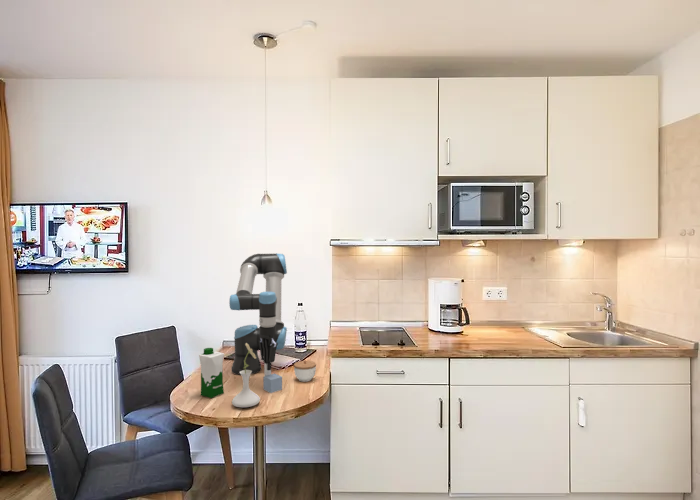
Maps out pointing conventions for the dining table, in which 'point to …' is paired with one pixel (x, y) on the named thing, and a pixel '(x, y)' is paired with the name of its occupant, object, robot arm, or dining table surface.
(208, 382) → the milk carton
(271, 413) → the dining table surface
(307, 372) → the lidded jar
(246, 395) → the flower in vase
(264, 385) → the block
